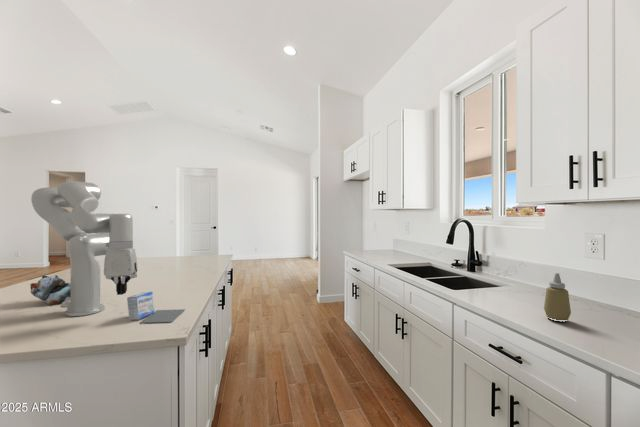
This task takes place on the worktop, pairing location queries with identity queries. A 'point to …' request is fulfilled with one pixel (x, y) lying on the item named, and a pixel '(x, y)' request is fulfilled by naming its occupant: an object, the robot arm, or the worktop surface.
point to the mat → (163, 316)
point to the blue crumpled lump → (51, 290)
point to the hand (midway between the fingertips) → (121, 293)
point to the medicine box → (140, 305)
